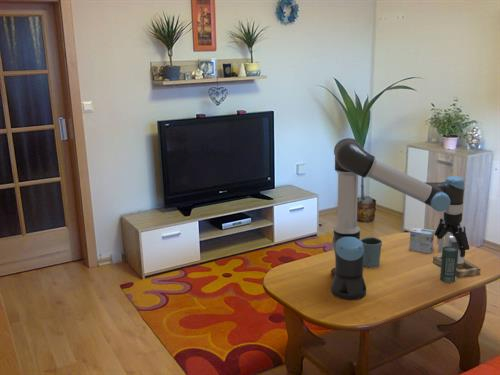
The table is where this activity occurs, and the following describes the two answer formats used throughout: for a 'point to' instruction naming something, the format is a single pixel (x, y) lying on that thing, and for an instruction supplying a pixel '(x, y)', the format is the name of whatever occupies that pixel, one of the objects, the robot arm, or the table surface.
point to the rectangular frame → (470, 268)
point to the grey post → (451, 241)
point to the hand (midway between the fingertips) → (450, 257)
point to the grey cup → (371, 251)
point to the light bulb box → (421, 240)
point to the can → (448, 264)
